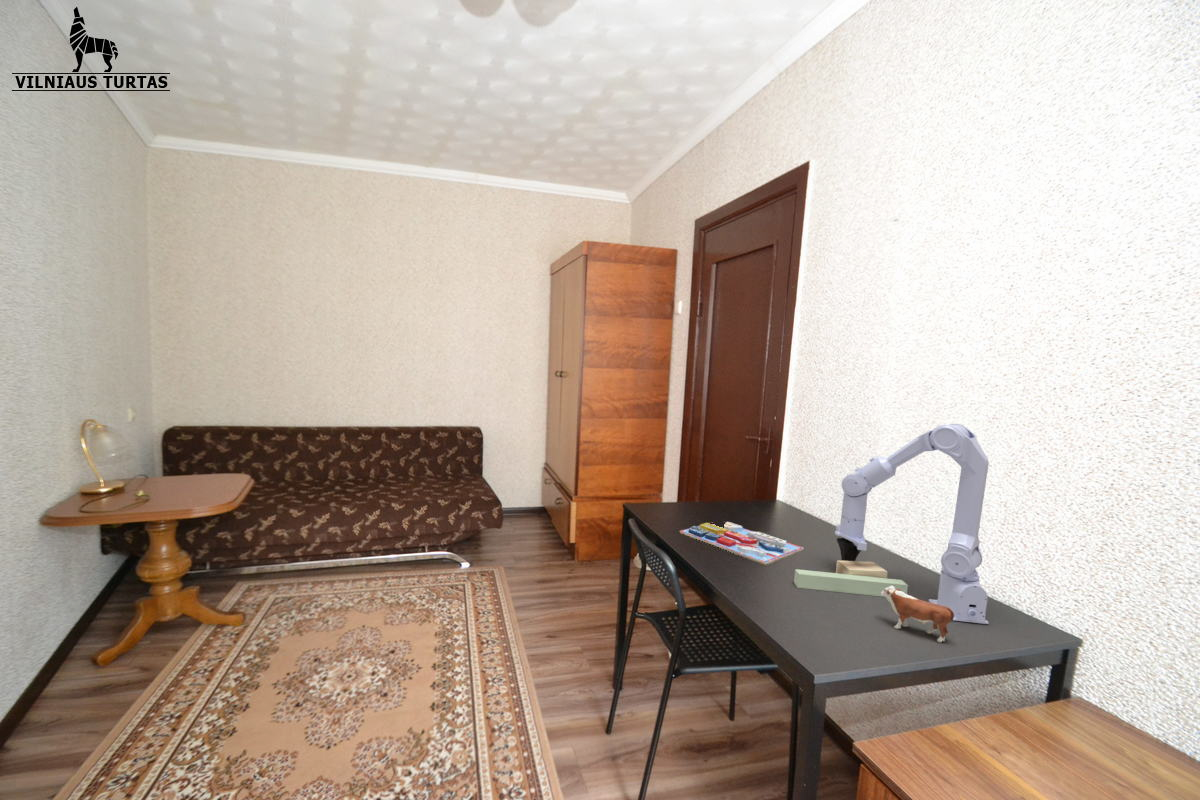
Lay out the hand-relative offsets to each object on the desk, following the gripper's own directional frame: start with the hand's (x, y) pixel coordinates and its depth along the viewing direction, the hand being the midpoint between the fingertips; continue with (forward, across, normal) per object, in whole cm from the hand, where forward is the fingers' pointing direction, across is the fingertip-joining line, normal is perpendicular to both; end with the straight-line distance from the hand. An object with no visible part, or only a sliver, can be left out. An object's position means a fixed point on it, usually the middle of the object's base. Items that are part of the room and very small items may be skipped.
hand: (847, 566), depth 134 cm
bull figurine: (+2, +29, +2) cm, 29 cm away
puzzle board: (+3, -18, -25) cm, 31 cm away
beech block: (+2, +6, +1) cm, 6 cm away
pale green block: (+2, +11, -4) cm, 12 cm away
